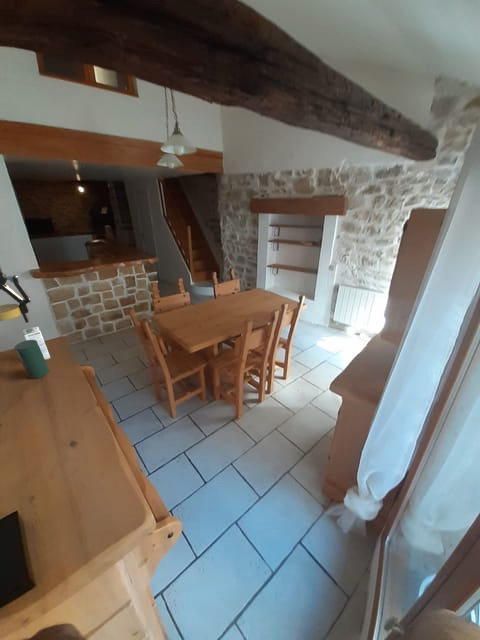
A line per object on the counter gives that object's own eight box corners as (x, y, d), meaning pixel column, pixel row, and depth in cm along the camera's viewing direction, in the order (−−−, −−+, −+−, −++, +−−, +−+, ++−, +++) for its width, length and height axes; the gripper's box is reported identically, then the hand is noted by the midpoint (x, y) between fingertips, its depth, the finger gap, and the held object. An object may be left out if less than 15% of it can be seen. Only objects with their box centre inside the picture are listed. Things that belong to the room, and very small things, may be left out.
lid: (20, 308, 94) (17, 301, 93) (24, 315, 89) (21, 308, 88) (-10, 315, 89) (-14, 308, 88) (-8, 323, 84) (-12, 316, 82)
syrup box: (33, 357, 115) (21, 330, 108) (49, 352, 118) (38, 325, 112) (35, 363, 111) (22, 335, 104) (51, 358, 115) (40, 330, 108)
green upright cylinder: (26, 381, 101) (11, 351, 94) (30, 370, 107) (17, 341, 100) (47, 376, 103) (34, 346, 97) (50, 366, 109) (39, 338, 103)
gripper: (24, 255, 89) (46, 313, 99) (-62, 264, 78) (-27, 328, 88) (23, 260, 83) (47, 320, 93) (-70, 269, 72) (-32, 337, 82)
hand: (11, 324), depth 91 cm, fingers closed on lid, 8 cm apart
